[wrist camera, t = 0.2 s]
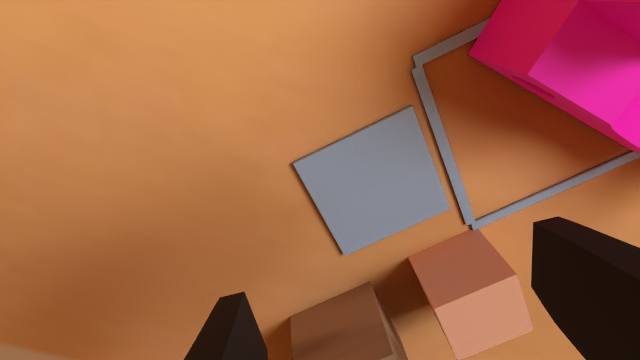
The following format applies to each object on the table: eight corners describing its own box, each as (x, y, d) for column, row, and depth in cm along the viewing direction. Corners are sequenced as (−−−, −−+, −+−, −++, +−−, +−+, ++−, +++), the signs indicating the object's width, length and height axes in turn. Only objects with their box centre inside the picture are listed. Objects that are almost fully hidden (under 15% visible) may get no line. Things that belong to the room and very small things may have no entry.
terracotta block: (493, 277, 23) (533, 330, 20) (429, 304, 24) (457, 361, 20) (475, 226, 21) (516, 274, 18) (407, 256, 22) (434, 309, 18)
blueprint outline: (826, 73, 19) (831, 74, 19) (358, 279, 22) (359, 282, 22) (860, -166, 15) (867, -168, 15) (272, 125, 18) (272, 127, 17)
